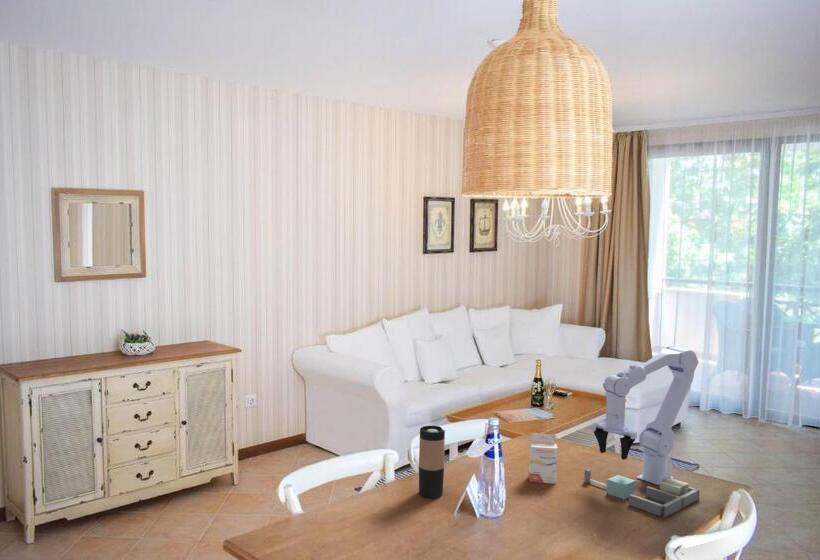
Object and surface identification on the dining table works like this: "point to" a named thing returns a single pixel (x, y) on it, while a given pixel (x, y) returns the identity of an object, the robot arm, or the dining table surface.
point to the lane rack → (670, 499)
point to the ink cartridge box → (543, 459)
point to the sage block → (674, 487)
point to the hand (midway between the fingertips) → (613, 455)
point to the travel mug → (431, 461)
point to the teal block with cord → (614, 485)
